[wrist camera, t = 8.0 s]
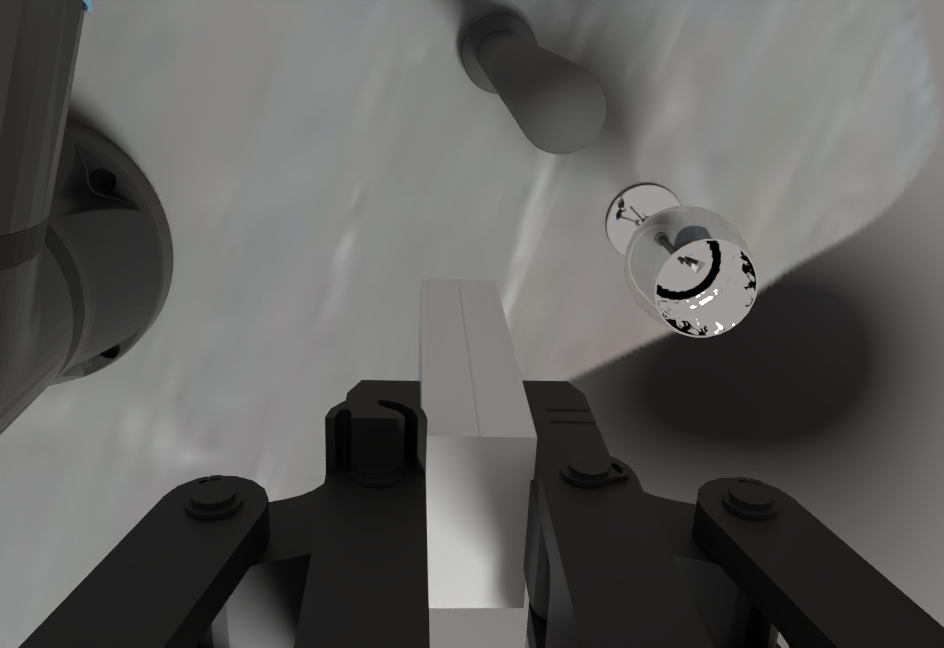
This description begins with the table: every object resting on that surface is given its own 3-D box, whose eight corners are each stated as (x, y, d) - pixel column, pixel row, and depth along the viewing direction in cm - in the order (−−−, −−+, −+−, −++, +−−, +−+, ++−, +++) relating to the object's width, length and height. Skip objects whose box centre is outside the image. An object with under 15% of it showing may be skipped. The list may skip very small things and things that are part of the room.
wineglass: (614, 160, 48) (668, 210, 37) (709, 188, 49) (791, 244, 38) (581, 256, 50) (624, 332, 39) (674, 281, 51) (741, 362, 40)
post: (457, 88, 46) (479, 174, 24) (466, 9, 45) (498, 21, 22) (531, 96, 47) (621, 190, 24) (542, 19, 45) (649, 40, 23)
